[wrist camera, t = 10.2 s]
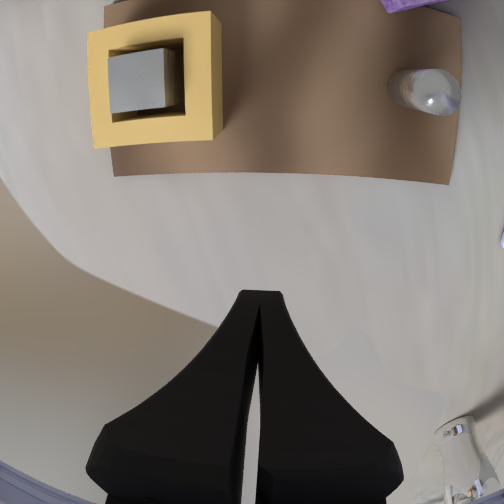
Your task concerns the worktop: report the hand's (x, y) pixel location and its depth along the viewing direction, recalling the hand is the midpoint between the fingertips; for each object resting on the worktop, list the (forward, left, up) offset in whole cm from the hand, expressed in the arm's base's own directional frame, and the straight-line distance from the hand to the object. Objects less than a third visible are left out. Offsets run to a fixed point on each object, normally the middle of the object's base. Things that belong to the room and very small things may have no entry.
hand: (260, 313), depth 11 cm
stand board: (-1, -8, -8) cm, 11 cm away
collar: (+5, -8, -8) cm, 12 cm away
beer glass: (-25, +27, -9) cm, 38 cm away
